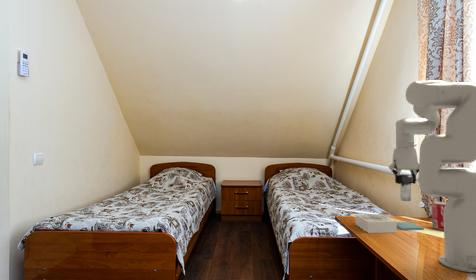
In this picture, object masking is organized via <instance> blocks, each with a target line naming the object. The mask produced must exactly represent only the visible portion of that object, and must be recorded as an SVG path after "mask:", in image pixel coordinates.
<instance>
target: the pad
mask: <svg viewBox="0 0 476 280" xmlns="http://www.w3.org/2000/svg"><path fill="white" fill-rule="evenodd" d="M397 229H399V230H401V231H424V229H425V227H424V226H421V225H418V224H416V223H414V222H412V221H397Z"/></svg>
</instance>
